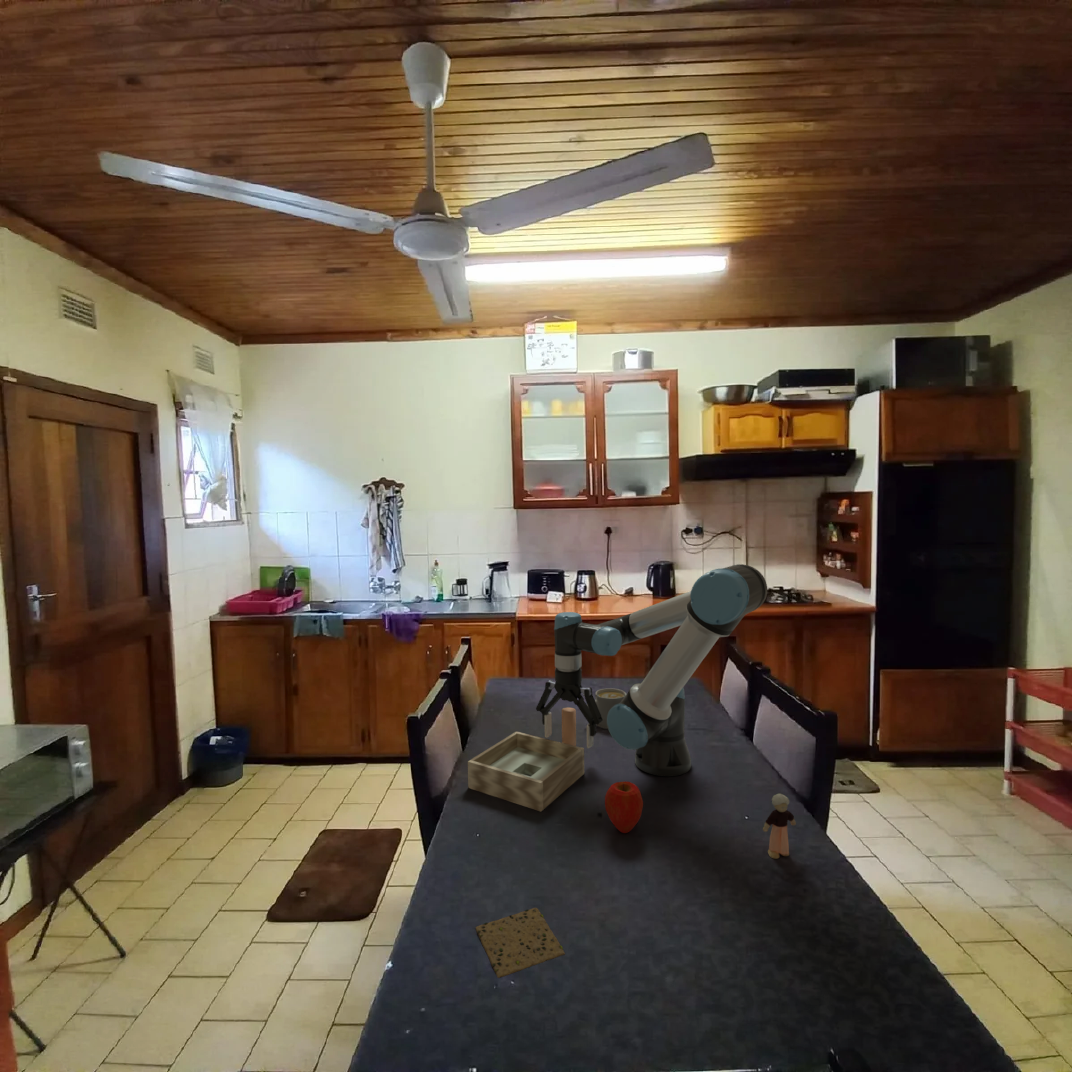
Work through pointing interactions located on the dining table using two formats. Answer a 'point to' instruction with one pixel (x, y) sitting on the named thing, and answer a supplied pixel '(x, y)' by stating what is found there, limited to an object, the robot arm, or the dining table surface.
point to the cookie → (518, 942)
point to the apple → (624, 805)
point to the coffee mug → (607, 702)
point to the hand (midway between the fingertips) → (568, 741)
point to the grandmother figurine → (779, 826)
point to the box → (526, 770)
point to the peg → (569, 726)
